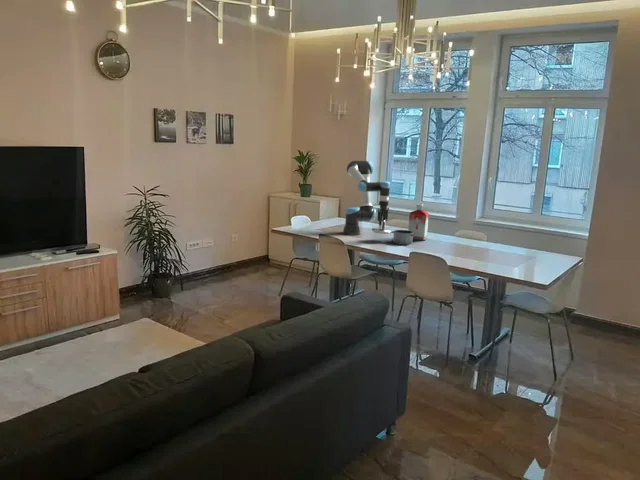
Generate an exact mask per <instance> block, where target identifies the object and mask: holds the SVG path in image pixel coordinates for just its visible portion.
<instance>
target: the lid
mask: <svg viewBox="0 0 640 480" xmlns="http://www.w3.org/2000/svg"><path fill="white" fill-rule="evenodd" d="M382 221H383V222H382V229H379V227H373V228H371V232H372V233H376V234H392V233H391V232H392V229H390V228H387V227H386V224H385V220H383V218H382ZM384 226H385V229H384Z"/></svg>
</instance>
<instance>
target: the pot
mask: <svg viewBox="0 0 640 480" xmlns="http://www.w3.org/2000/svg"><path fill="white" fill-rule="evenodd" d="M390 234H393V237H392V238H393V240H392V242H393V243H394V244H397V245H404V246H405V245H412V244H413V240H414V239H413V236H416V235H414V234H413V232H412V231H408V229H396V230H393V231H392V232H391V233H390Z"/></svg>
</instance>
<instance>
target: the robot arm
mask: <svg viewBox="0 0 640 480" xmlns="http://www.w3.org/2000/svg"><path fill="white" fill-rule="evenodd" d="M346 172H347V174H348V175H349V176H350V177H352V179H353V180H354V181H355V182H356V183H357V189H358V191H359V192H360V200H361V202H360V203H361V204H360V206H348V207H347V208H346V209H345V221H344V222H345V223H344V224H345V225H344V227H343V230H342V234H344V235H351V236H359V235H360V234H361V230H360V225H359V223H360V222H374V220H375V218H376V217H377V221H378V228H379V229H382V222H383V221H382V219H383V220H385V226H384V229H385V228H386V223H387V221H388V219H389V218H388V216H389V209H390V207H388V206H389V198H390V188H391V183H390V181H386V180H384V181H383V180H382V181H376V182H375V181H374V182H371V180H370V179H371V178H370V177H371V176H372V174H373V173H374V165H373V162H371V161H370V160H352V161H350V162H349V163H347V166H346ZM371 192H372V193H373V192H379V198H378V199H379V202H378V205H379V208H377V210H376V208H375V207H374V205H373V204H372V194H371Z"/></svg>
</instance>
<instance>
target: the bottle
mask: <svg viewBox="0 0 640 480" xmlns="http://www.w3.org/2000/svg"><path fill="white" fill-rule="evenodd" d="M415 207H416V209H415V210H413V211H410V212H409V217H408V229H407V230H408V231H412V232H413V234H414V235H416V236H413V240H414V241H415V240H416V241H421V242H423V241H425V240H427V239H428V238H427V236H428V228H429V226H428V225H429V215H430V214H429V212H427V211H425V210H423V209H424V204H423V203H416V205H415Z"/></svg>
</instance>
